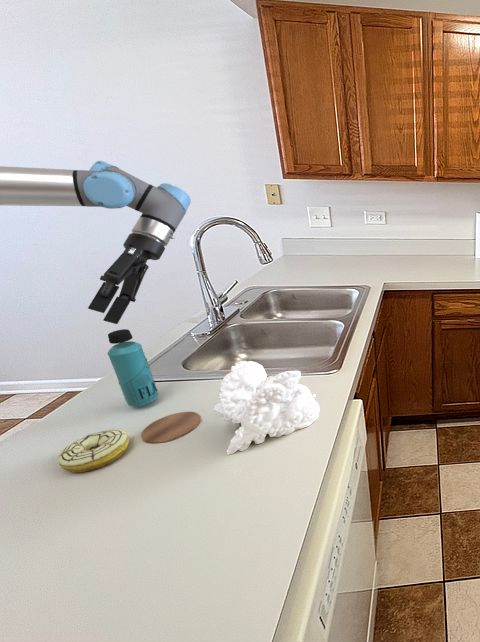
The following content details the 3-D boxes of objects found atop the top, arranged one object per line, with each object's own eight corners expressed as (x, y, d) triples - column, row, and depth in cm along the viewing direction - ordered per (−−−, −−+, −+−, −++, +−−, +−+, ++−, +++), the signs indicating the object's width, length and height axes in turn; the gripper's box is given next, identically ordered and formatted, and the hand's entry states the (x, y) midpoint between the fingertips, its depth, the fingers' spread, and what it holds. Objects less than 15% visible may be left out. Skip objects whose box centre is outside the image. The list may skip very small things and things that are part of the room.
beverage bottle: (144, 413, 95) (116, 338, 88) (120, 410, 96) (91, 336, 89) (168, 398, 101) (144, 327, 94) (145, 396, 102) (120, 325, 95)
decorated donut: (97, 439, 87) (91, 425, 85) (144, 441, 86) (139, 426, 85) (46, 474, 77) (38, 459, 76) (99, 476, 76) (92, 461, 75)
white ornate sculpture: (345, 376, 94) (269, 367, 77) (321, 462, 91) (237, 472, 74) (294, 361, 103) (216, 350, 86) (271, 439, 100) (186, 443, 83)
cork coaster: (128, 442, 86) (127, 440, 86) (168, 412, 96) (168, 410, 96) (175, 445, 85) (175, 443, 85) (211, 414, 95) (211, 412, 95)
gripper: (160, 227, 91) (111, 311, 84) (171, 261, 112) (132, 331, 104) (120, 212, 88) (65, 298, 80) (139, 250, 109) (97, 321, 101)
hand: (103, 317), depth 92 cm, fingers open, 13 cm apart
